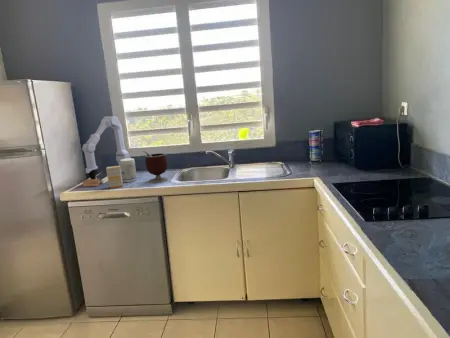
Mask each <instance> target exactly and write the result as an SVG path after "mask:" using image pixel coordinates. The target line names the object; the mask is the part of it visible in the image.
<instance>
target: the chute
mask: <svg viewBox="0 0 450 338" xmlns="http://www.w3.org/2000/svg"><path fill="white" fill-rule="evenodd" d="M88 179H91V178H90V177H89V178H87V179H86V180H88ZM96 179H98V178H97V176H96ZM107 182H108V177H107V176H105V177H104V178H102V179H101V180H100V184H102V185H103V184H105V183H107Z"/></svg>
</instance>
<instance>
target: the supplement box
mask: <svg viewBox="0 0 450 338" xmlns="http://www.w3.org/2000/svg"><path fill="white" fill-rule="evenodd" d="M105 171H106V177H108V181H107V182H108V188H109V189H113V188H123V186H124V182H123V181H122V174H121V168H120V166H119V165H113V166H106V168H105Z"/></svg>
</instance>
